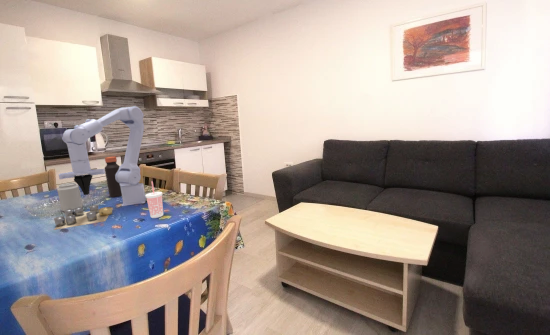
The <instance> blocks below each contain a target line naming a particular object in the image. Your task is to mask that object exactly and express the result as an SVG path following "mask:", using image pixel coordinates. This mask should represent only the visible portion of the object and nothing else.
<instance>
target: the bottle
mask: <svg viewBox="0 0 550 335" xmlns="http://www.w3.org/2000/svg"><path fill="white" fill-rule="evenodd" d="M117 160H118V159H117V156H107V157H104V161H105V164H106V165H105V166H104V170H105V174H104V175H105V179H106V185H107V189H108V195H109V197H110V198H117V197H118V198H119V197H122V193H121V187H120V184H119V183H118V182H117V181H116V179H115V175H116V173H117V172H118V170H119V167H120V166H121V165H119V164H117Z"/></svg>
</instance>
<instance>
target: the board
mask: <svg viewBox="0 0 550 335" xmlns="http://www.w3.org/2000/svg"><path fill="white" fill-rule="evenodd" d="M111 208H112V210H113V209H114V207H111ZM83 212H84V215H82V216H78V217H76V221H77V223H76V224H74V225H67V223H66V225H64V226H61V227H56V226H55V228H54V229H53V231H55V230H61V229H66V228H75V227H79V226H85V225H91V224H97V223H103V222H107V219H108V218H109V216H110V215H108V216H100V215H99V213H97V214H96V216H97V220H95V221H90V222H89V221H88V219H87V215H86V213H88V212H90V210H89V211H83ZM65 222H66V219H65Z"/></svg>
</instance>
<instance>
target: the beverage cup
mask: <svg viewBox="0 0 550 335" xmlns="http://www.w3.org/2000/svg"><path fill="white" fill-rule="evenodd" d="M150 184H151V189H152V192H148V193H145V196H146V201H147V202H146V203H147V207H148V210H149V211H148V212H149V216H150V218H152V219H157V218H160V217H163V216H164V206H163V192H162V191H155V188H154V182H153V180H151V183H150Z"/></svg>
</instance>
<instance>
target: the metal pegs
mask: <svg viewBox="0 0 550 335" xmlns="http://www.w3.org/2000/svg"><path fill="white" fill-rule="evenodd" d="M83 208H84V207H77V208H74V209H67V210H64V211H63V212H64V215H62V216H56V217H54V218H53V221H54V224H55V228H56V227H61V226H64V225H66V223H67V225H74V224H76V223H77V221H76V217H78V216H82V215H84V212H85V211H84V209H83ZM88 209H89V211H90V212H88V211H87V212H88V213H86V215H87V219H88V221H89V222H90V221H95V220H97V216H96V214H97V213H99V209H100V208H99V205H98V204H94V205H90V206H89V208H88ZM65 219H66V222H65Z"/></svg>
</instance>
